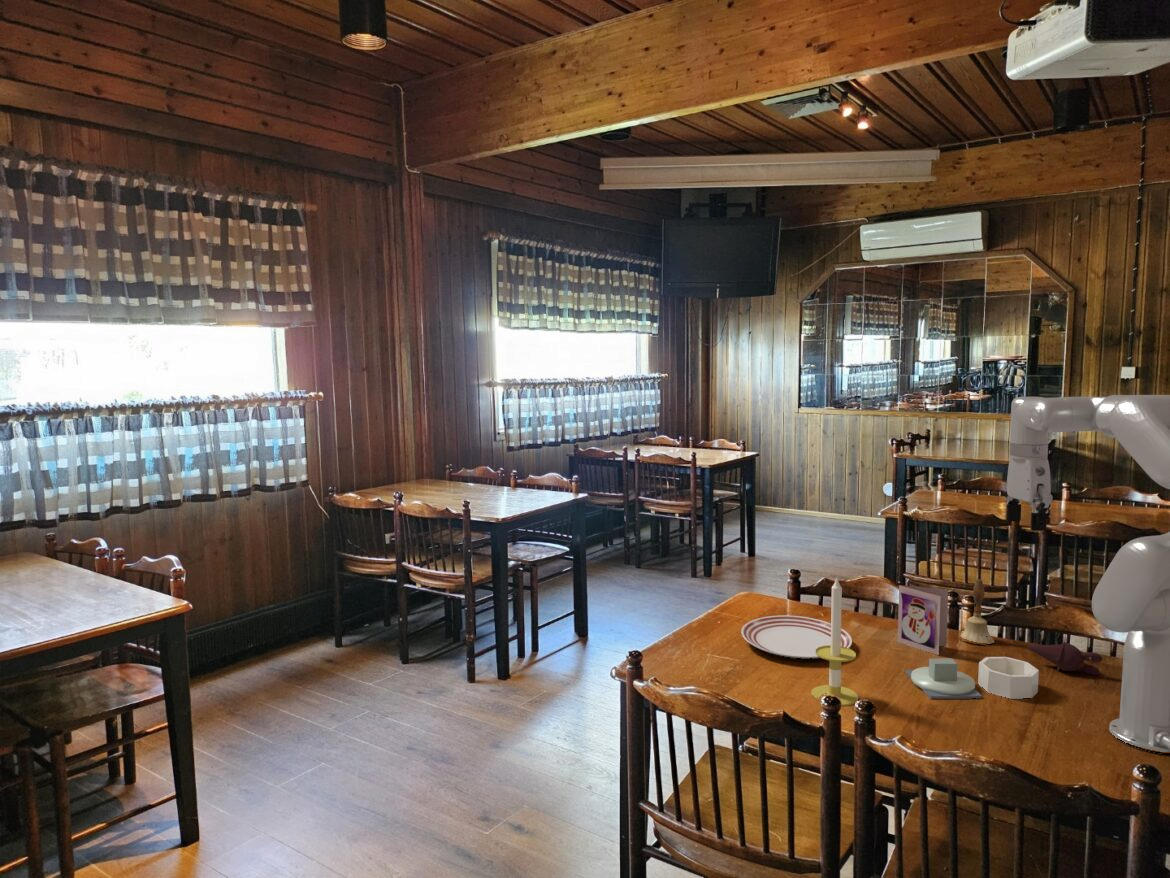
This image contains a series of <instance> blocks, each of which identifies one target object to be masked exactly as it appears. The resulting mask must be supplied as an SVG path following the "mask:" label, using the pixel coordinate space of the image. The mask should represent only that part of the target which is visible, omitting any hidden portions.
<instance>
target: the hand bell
mask: <svg viewBox="0 0 1170 878" xmlns="http://www.w3.org/2000/svg"><path fill="white" fill-rule="evenodd" d="M983 582H984V581H983V579H979V578H978V579H976V581H975V584H974V586H973V588H972V589H973V590H972V596H973V601H974V605H975V604H976V607H975V606H974V609H973V610H974V611H973V616H971V617H968V618H967V622H966V626H965V629H964V630H963V632H961V633H960V634H961V635H960V634H959V635H960V636H961V637H962V638H964V639H967V640H969V641H973V642H977V643H987V644H991V643H995V640H994V638H993V637H992V635H991V634H990V632H989V629H988V621H987V620H986V619H985V618H983V617H982V602H983V601H984V597H985V585H984V584H983ZM981 635H982V636H981ZM986 636H988V637H986ZM992 638H993V639H992Z"/></svg>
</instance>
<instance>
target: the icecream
mask: <svg viewBox="0 0 1170 878" xmlns="http://www.w3.org/2000/svg"><path fill="white" fill-rule="evenodd" d="M1026 649H1028V650H1030V651H1031V652H1034V653H1035V654H1037V655H1038V656H1040V657H1042V658H1044V660H1047V661H1049V662H1050V663H1052V664H1054V665H1055V666H1057V668H1056V669H1057V671H1058V672H1059V671H1060V670H1062V671H1065V672H1076V671H1077V670H1081V671H1082V672H1084V673H1085V674H1087V675H1090V674H1092V675H1091V676H1095V675H1097V676H1099V675H1100V674H1101V671H1100V670H1099V668H1097V667H1096V666H1094V665H1091V664H1087V663H1085V662H1089V663H1100V662H1102V661H1103V656H1102V655H1101V654H1099V653H1096V652H1082V651H1081V650H1080V648H1078V647H1076V646H1075V645H1073V644H1071V643H1070V642H1066V641H1065V640H1064V641H1063V642H1062V643H1061V644H1044V645H1043V644H1042V645H1039V644H1037V645H1027V646H1026Z"/></svg>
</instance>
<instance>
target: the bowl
mask: <svg viewBox="0 0 1170 878" xmlns="http://www.w3.org/2000/svg"><path fill="white" fill-rule="evenodd" d="M1039 671H1040V670H1039V669H1038V668H1037V667H1035V666H1034V665H1032V664H1031V663H1029V662H1028V661H1024V660H1020V659H1017V658H1013V657H1008V656H986V657H984V658H983V659H982V660H980V661H979V662H978V677H977V681H978V682H977V685H978V684H979V686H980V687H981V688H982V687H983V688H984V689H985V690H986V691H987V692H986V691H985V690H984V689H983V688H982V689H983V690H984V691H985V692H986V693H988V694H991V693H992V694H991V695H994V694H995V696H999V697H1001V696H1002V698H1005V697H1006V698H1005V699H1008V698H1009V700H1024V699H1023V698H1031V699H1033V698H1034V696H1036V694H1038V691H1039V675H1040V674H1039V673H1040V672H1039Z"/></svg>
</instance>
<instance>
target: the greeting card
mask: <svg viewBox="0 0 1170 878" xmlns="http://www.w3.org/2000/svg"><path fill="white" fill-rule="evenodd" d="M948 607H949V589H944V588H933V587H932V588H931V587H923V586H922V587H921V586H911V585H898V611H897V612H898V613H897V614H898V615H897V617H898V618H897V643H900V644H902V643H903V645H905V644H906V645H905V646H909V647H911V648H914V647H915V648H914V649H917V648H918V649H917V650H920V649H921V650H920V651H922V650H924V651H923V652H925V651H927V652H926V653H928V652H931V653H934V654H937V655H940V654H939V653H940V652H939V651H940V647H939V646H946V647H947V640H948V639H947V635H948V613H949V612H948V609H949V608H948ZM931 653H930V654H931ZM934 654H933V655H934ZM937 655H936V656H937Z"/></svg>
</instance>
